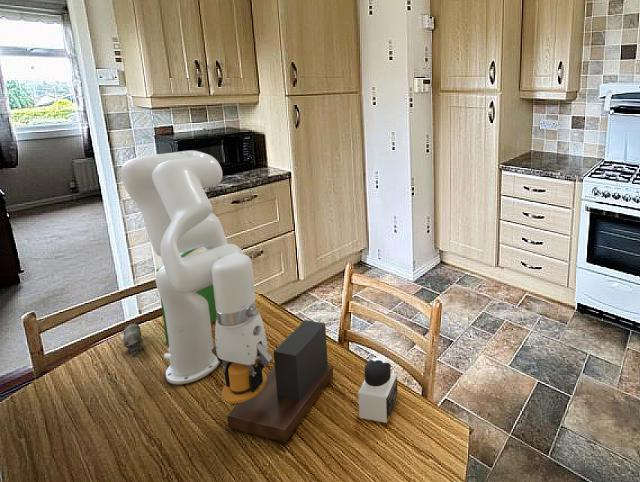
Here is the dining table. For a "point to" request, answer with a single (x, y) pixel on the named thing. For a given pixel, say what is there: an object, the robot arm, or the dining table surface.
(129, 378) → the dining table surface
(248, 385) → the hat
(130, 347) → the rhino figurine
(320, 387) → the brown flat slab
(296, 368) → the dark grey block
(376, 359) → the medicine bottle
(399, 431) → the dining table surface
